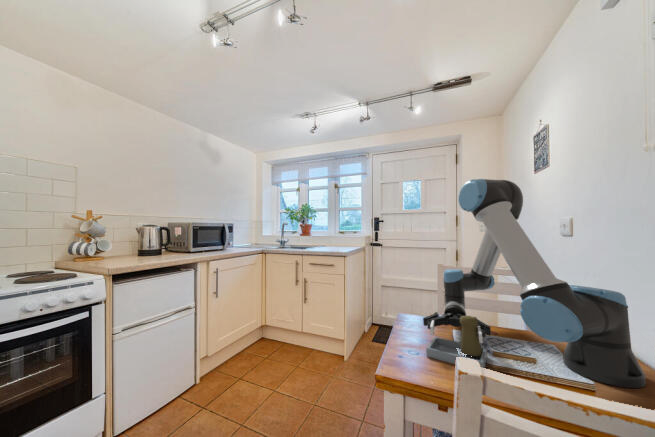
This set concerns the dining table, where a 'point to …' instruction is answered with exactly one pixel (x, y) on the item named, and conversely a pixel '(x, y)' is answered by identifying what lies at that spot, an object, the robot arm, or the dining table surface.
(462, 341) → the cork
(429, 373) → the dining table surface
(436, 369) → the dining table surface
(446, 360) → the trough
